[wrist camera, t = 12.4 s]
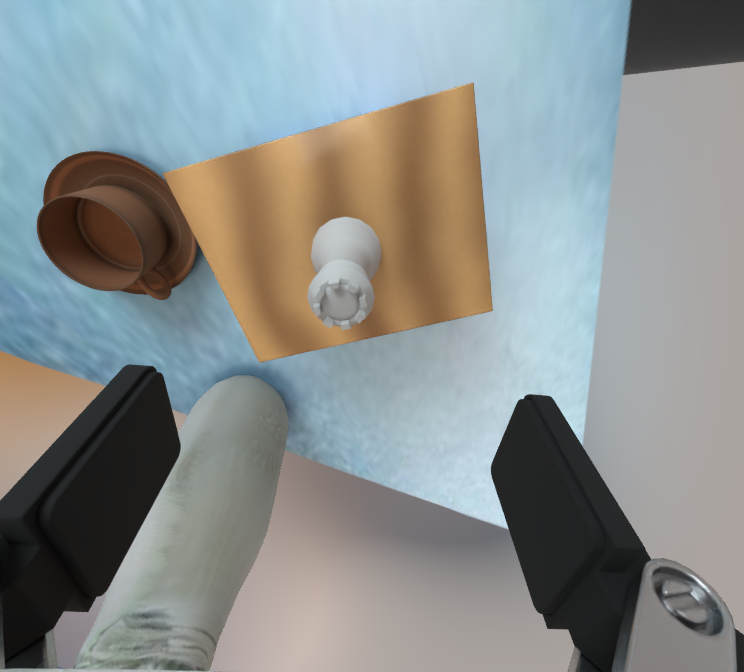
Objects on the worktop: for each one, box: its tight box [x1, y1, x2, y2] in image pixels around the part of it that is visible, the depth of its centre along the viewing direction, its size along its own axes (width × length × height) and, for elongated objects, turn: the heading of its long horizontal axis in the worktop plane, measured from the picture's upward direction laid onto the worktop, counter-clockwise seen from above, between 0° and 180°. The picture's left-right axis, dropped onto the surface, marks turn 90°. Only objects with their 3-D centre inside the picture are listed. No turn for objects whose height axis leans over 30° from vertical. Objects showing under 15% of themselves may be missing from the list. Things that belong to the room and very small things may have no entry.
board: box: [163, 83, 493, 362], centre depth 24 cm, size 18×14×1 cm
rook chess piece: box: [307, 217, 382, 330], centre depth 21 cm, size 4×4×8 cm
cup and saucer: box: [37, 151, 197, 300], centre depth 30 cm, size 12×12×6 cm
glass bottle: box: [74, 375, 288, 671], centre depth 32 cm, size 10×10×28 cm
